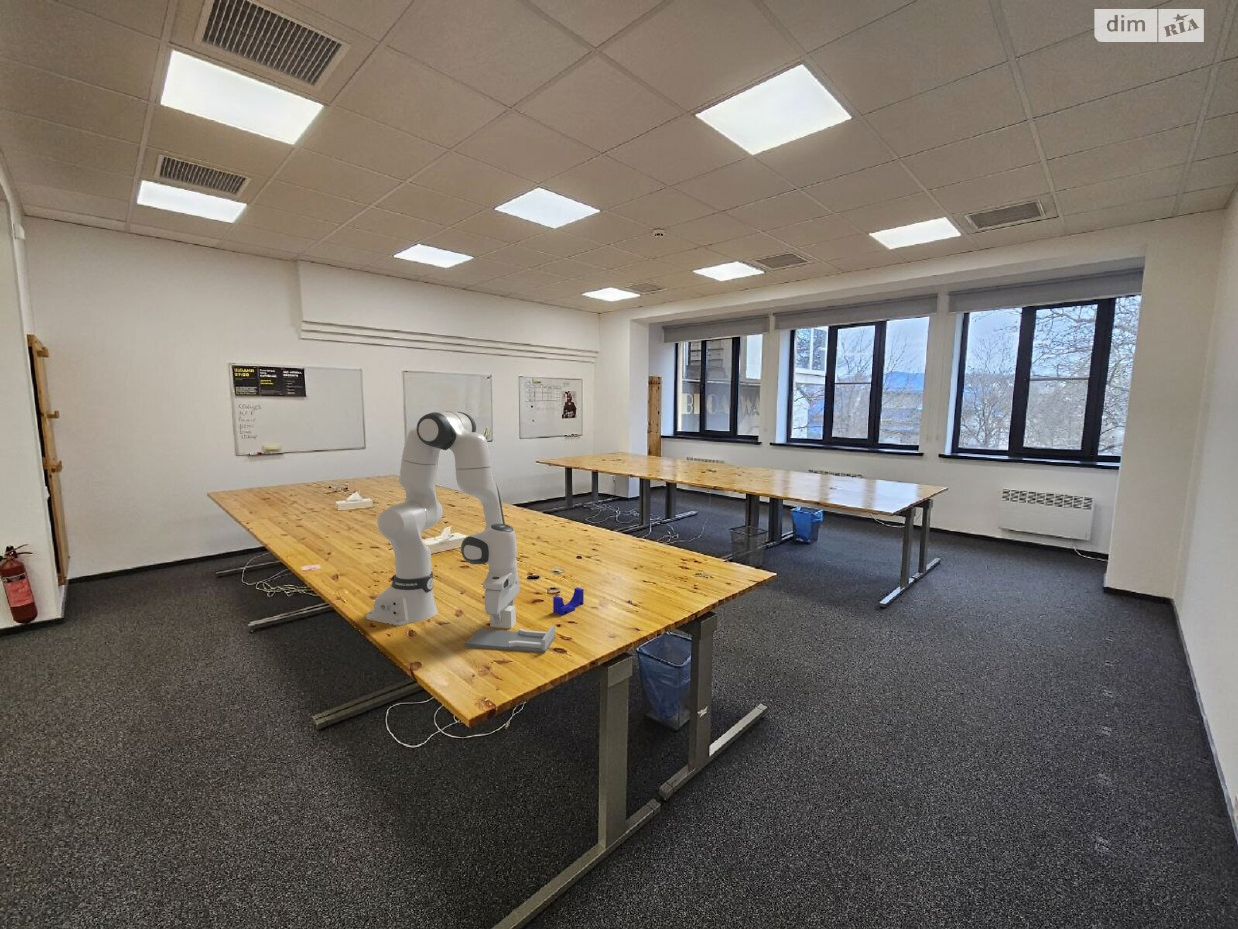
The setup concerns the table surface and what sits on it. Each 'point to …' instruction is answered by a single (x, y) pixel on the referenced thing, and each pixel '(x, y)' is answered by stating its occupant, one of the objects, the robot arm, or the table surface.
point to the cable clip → (569, 607)
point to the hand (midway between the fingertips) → (504, 617)
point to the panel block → (505, 618)
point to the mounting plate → (512, 640)
